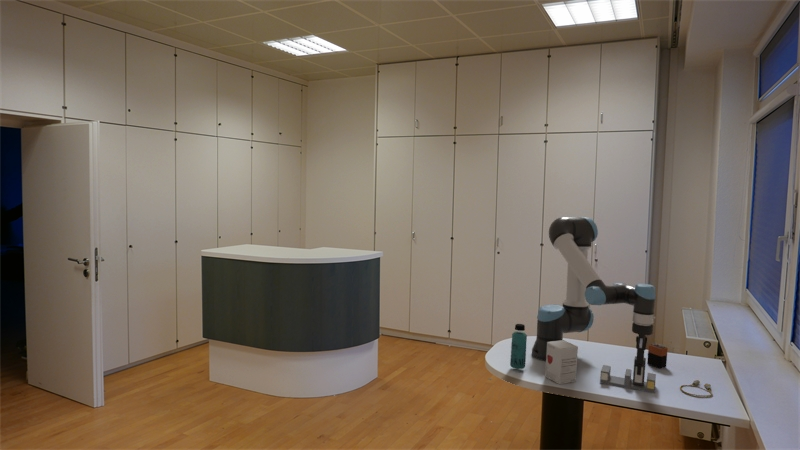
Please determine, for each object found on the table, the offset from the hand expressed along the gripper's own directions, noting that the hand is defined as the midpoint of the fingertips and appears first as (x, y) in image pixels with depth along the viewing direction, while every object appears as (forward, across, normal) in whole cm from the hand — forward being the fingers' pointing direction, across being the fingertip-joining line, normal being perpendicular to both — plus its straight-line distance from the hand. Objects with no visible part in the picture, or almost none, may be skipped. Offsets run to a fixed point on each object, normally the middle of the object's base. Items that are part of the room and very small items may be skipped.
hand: (638, 380), depth 212 cm
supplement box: (+3, -8, +29) cm, 30 cm away
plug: (+1, 0, 0) cm, 1 cm away
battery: (+3, +30, -6) cm, 31 cm away
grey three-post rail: (+3, 0, +4) cm, 5 cm away
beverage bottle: (+3, -8, +47) cm, 48 cm away
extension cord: (+3, +8, -21) cm, 23 cm away
